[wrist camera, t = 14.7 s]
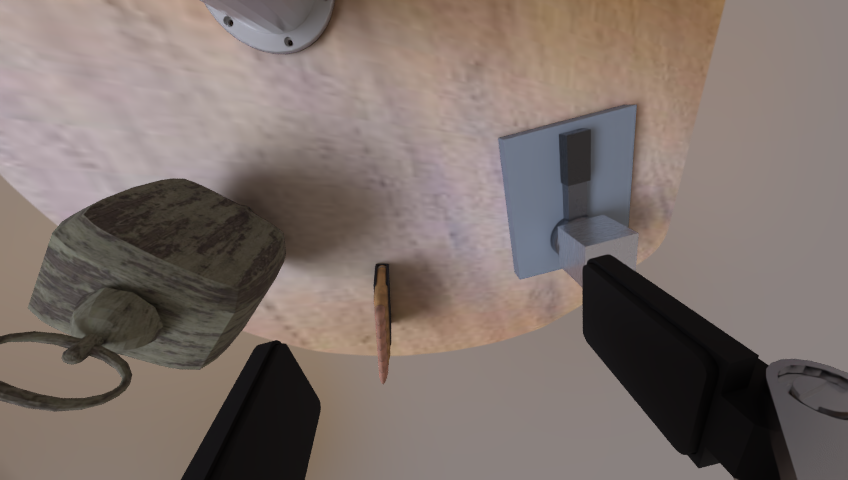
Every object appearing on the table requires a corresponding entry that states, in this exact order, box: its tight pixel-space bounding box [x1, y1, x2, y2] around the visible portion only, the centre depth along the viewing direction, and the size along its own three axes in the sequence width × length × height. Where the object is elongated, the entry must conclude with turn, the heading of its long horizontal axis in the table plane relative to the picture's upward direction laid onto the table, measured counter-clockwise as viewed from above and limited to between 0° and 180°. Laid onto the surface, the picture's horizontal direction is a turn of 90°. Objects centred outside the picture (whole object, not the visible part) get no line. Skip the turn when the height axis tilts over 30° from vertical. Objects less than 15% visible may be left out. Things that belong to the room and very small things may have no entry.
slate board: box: [498, 105, 637, 279], centre depth 40 cm, size 20×16×2 cm
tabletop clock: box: [0, 179, 286, 411], centre depth 26 cm, size 14×9×25 cm, turn 53°
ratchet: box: [550, 128, 591, 255], centre depth 36 cm, size 17×6×6 cm, turn 14°
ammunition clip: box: [374, 264, 391, 384], centre depth 39 cm, size 11×2×12 cm, turn 179°
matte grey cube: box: [558, 215, 639, 288], centre depth 37 cm, size 6×6×6 cm
